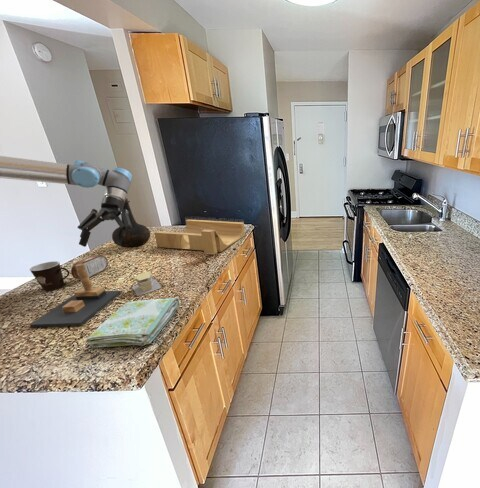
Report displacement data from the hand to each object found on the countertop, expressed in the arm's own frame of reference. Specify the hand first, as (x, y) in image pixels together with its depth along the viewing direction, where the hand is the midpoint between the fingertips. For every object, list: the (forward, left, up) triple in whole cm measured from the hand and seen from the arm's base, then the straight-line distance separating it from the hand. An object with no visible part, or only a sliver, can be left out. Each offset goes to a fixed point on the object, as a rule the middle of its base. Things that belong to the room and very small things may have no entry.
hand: (99, 245), depth 105 cm
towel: (+28, -29, -18) cm, 44 cm away
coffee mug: (-22, -2, -18) cm, 29 cm away
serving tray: (0, -18, -18) cm, 25 cm away
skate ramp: (+20, +47, -18) cm, 54 cm away
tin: (-15, +9, -19) cm, 26 cm away
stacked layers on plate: (+16, -4, -18) cm, 25 cm away
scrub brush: (0, -12, -17) cm, 21 cm away
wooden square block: (0, -20, -17) cm, 26 cm away
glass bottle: (-18, +45, -18) cm, 52 cm away
